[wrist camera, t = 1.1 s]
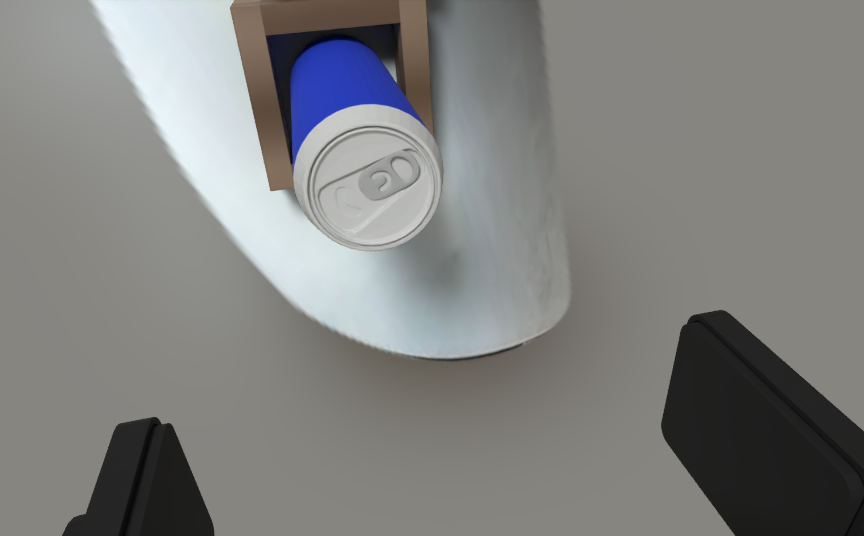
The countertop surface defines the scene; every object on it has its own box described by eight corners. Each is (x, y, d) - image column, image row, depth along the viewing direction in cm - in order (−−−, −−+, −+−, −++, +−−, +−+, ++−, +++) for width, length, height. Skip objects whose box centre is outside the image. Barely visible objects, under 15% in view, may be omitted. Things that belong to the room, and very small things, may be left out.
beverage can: (327, 145, 33) (352, 283, 21) (270, 67, 30) (259, 171, 18) (402, 96, 33) (475, 207, 20) (351, 12, 30) (400, 79, 17)
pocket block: (234, -1, 28) (229, 7, 26) (413, -16, 30) (425, -10, 27) (271, 170, 33) (270, 191, 31) (424, 150, 35) (435, 168, 32)
